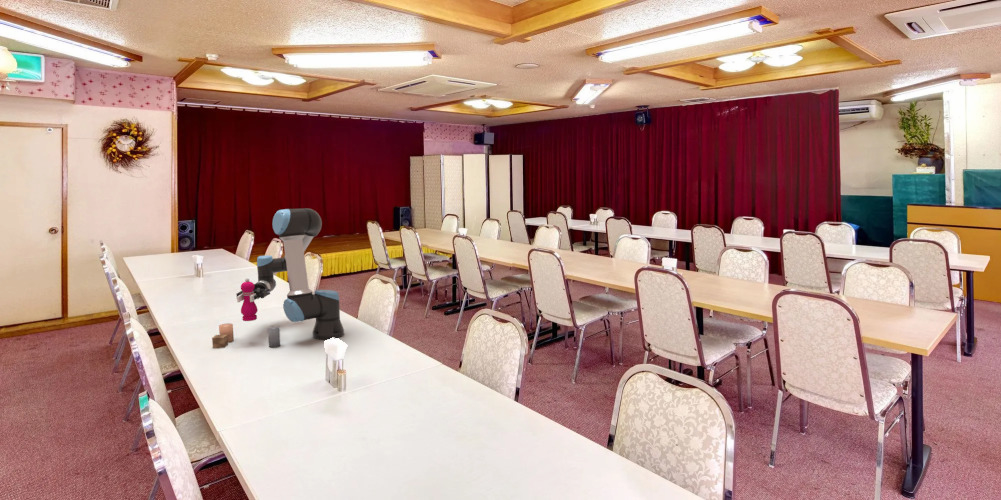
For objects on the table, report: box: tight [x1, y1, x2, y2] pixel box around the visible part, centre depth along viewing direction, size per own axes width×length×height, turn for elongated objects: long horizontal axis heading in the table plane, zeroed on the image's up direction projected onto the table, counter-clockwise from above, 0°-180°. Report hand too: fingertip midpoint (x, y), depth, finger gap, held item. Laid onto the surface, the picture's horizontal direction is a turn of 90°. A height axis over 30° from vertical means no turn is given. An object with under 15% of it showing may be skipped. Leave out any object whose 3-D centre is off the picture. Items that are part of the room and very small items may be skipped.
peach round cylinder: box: [218, 323, 235, 344], centre depth 261 cm, size 6×6×8 cm
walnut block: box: [211, 334, 229, 349], centre depth 253 cm, size 5×5×5 cm
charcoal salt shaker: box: [267, 325, 281, 349], centre depth 254 cm, size 5×5×9 cm
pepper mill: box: [240, 278, 259, 322], centre depth 255 cm, size 7×7×20 cm
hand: (244, 299), depth 250 cm, fingers closed on pepper mill, 5 cm apart
